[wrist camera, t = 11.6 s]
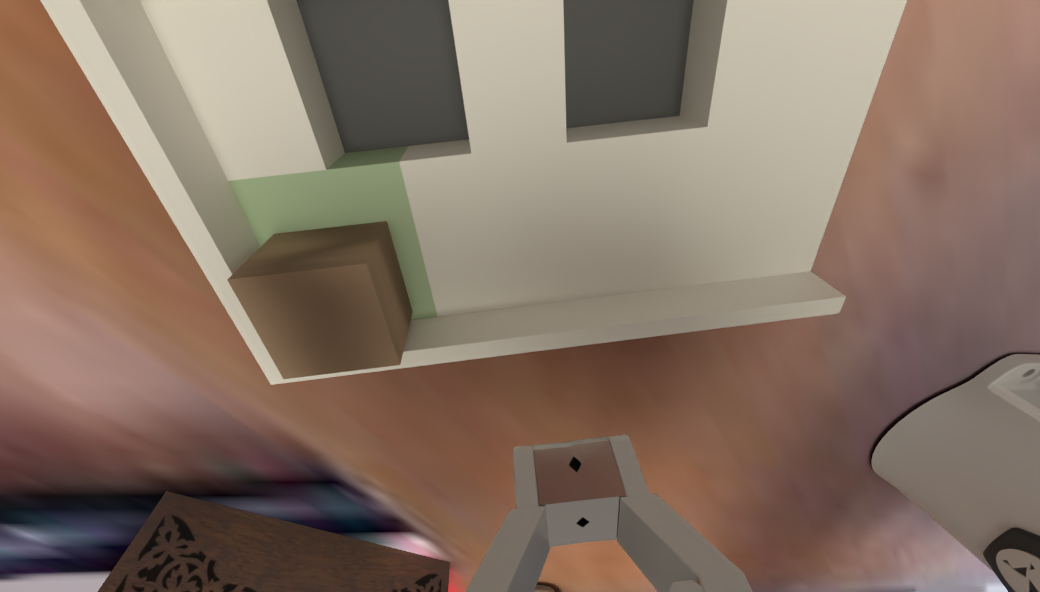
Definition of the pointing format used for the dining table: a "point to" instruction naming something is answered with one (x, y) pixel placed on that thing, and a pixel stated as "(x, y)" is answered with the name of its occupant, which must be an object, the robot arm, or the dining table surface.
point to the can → (543, 588)
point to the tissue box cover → (259, 556)
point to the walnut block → (327, 299)
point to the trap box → (504, 150)
